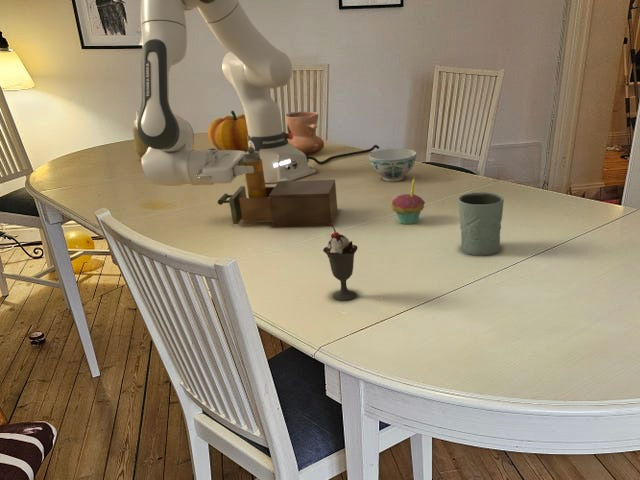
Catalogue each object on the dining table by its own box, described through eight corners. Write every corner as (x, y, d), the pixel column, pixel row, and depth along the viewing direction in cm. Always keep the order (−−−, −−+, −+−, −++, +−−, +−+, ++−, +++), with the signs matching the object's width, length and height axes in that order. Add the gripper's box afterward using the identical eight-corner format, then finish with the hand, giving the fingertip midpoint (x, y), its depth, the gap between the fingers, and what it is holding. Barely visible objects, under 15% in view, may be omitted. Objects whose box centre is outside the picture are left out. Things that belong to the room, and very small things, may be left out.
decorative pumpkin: (202, 156, 248) (194, 115, 241) (232, 144, 266) (226, 105, 258) (247, 158, 242) (241, 116, 234) (276, 145, 259) (271, 106, 252)
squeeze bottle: (153, 162, 244) (142, 111, 235) (133, 162, 246) (122, 112, 236) (163, 157, 251) (153, 107, 242) (144, 157, 252) (133, 108, 243)
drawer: (217, 225, 172) (213, 199, 168) (229, 210, 183) (225, 186, 179) (287, 223, 171) (284, 197, 167) (295, 208, 181) (292, 184, 178)
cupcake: (428, 217, 172) (427, 172, 166) (419, 228, 165) (418, 180, 159) (397, 215, 175) (396, 170, 169) (387, 225, 168) (385, 179, 162)
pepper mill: (262, 208, 179) (253, 144, 170) (272, 212, 176) (263, 146, 167) (247, 213, 176) (237, 147, 167) (257, 216, 173) (247, 149, 164)
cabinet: (272, 227, 171) (268, 195, 166) (282, 211, 182) (278, 181, 178) (331, 226, 170) (328, 193, 165) (337, 210, 181) (335, 179, 177)
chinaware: (362, 183, 205) (361, 158, 201) (380, 171, 217) (379, 147, 213) (407, 186, 200) (406, 160, 196) (423, 173, 211) (422, 149, 208)
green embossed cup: (490, 259, 144) (492, 206, 138) (449, 252, 149) (450, 201, 143) (508, 245, 152) (511, 194, 146) (469, 239, 157) (470, 189, 151)
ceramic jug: (334, 153, 244) (330, 113, 236) (301, 160, 236) (297, 119, 229) (307, 146, 256) (303, 108, 249) (276, 153, 248) (271, 113, 241)
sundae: (327, 290, 134) (320, 219, 126) (359, 288, 134) (355, 217, 127) (327, 304, 128) (320, 231, 121) (361, 301, 128) (356, 228, 121)
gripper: (190, 165, 160) (245, 163, 159) (213, 146, 178) (263, 145, 177) (195, 190, 163) (249, 188, 162) (217, 170, 181) (266, 168, 180)
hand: (256, 165), depth 170 cm, fingers closed on pepper mill, 5 cm apart
